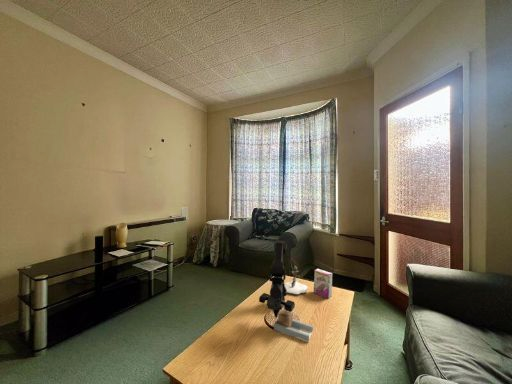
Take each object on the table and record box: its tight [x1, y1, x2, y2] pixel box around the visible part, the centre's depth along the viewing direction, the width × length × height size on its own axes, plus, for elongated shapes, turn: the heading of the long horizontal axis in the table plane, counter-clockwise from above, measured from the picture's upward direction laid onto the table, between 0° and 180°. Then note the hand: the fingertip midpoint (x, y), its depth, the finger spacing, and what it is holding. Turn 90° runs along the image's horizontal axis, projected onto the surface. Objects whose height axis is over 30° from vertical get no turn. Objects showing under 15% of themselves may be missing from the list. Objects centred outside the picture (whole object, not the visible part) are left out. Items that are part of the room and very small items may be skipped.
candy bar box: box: [313, 268, 333, 299], centre depth 148 cm, size 11×5×16 cm, turn 47°
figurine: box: [284, 265, 309, 295], centre depth 155 cm, size 20×18×16 cm
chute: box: [273, 318, 314, 343], centre depth 111 cm, size 18×9×3 cm, turn 62°
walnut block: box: [277, 309, 293, 328], centre depth 113 cm, size 6×5×7 cm
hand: (276, 317), depth 115 cm, fingers closed
